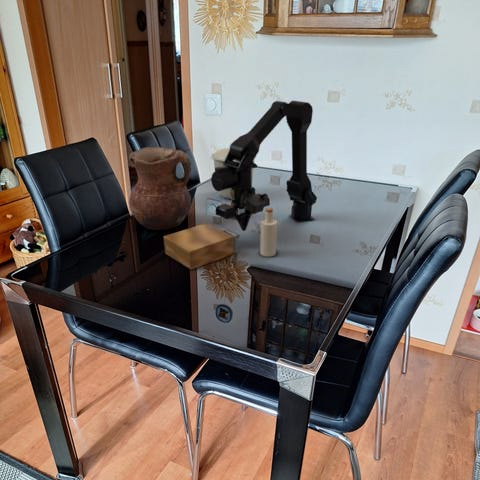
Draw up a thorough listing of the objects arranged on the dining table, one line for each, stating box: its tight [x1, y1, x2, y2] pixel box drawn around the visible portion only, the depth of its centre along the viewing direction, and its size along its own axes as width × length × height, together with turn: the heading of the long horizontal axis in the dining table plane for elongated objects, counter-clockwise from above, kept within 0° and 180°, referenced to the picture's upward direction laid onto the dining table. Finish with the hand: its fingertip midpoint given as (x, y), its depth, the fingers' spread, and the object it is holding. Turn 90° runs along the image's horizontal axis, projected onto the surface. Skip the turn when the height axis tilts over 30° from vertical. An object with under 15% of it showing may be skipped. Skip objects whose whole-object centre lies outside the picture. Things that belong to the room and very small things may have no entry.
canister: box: [211, 142, 257, 200], centre depth 177 cm, size 18×18×21 cm
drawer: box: [222, 227, 240, 251], centre depth 137 cm, size 20×13×4 cm
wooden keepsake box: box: [163, 223, 235, 270], centre depth 135 cm, size 16×14×6 cm
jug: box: [128, 146, 192, 231], centre depth 151 cm, size 22×21×25 cm
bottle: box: [259, 207, 278, 258], centre depth 133 cm, size 5×5×14 cm
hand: (243, 230), depth 145 cm, fingers closed
